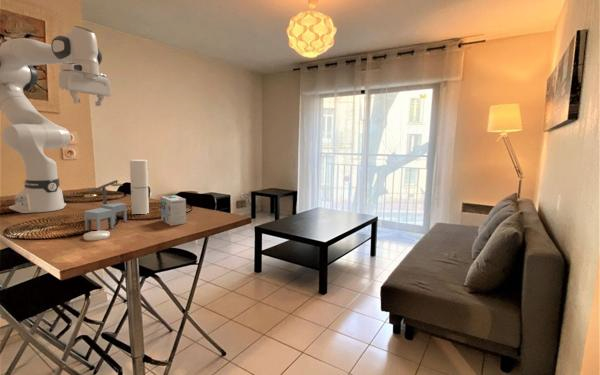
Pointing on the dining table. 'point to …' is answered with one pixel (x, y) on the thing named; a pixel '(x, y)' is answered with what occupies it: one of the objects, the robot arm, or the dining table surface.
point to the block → (102, 224)
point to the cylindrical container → (139, 186)
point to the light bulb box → (173, 210)
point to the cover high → (116, 209)
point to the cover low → (98, 217)
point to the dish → (96, 235)
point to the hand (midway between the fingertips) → (88, 104)
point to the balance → (103, 192)
